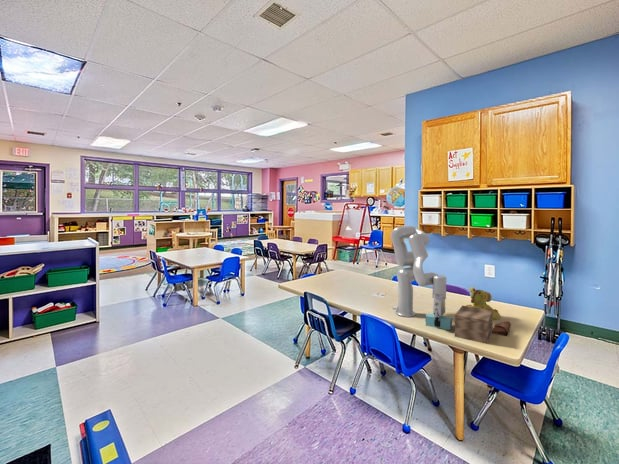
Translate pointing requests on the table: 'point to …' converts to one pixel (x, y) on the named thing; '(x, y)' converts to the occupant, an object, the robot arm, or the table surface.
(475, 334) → the brown wooden block
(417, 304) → the table surface
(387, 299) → the table surface
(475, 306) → the giraffe plush
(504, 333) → the sunglasses case
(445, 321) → the teal block
